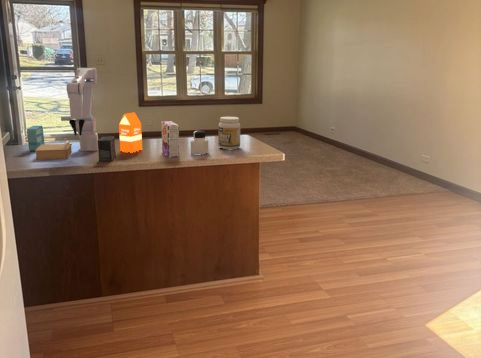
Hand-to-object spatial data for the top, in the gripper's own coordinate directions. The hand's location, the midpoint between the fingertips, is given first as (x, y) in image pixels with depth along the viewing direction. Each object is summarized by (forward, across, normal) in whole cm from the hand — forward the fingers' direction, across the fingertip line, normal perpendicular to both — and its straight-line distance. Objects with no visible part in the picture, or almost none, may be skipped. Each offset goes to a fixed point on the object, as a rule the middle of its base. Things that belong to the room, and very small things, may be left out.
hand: (78, 135), depth 224 cm
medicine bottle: (+10, +60, -3) cm, 61 cm away
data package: (+10, -24, +19) cm, 32 cm away
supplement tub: (+10, +78, +9) cm, 79 cm away
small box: (+11, +14, -9) cm, 20 cm away
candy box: (+11, +45, -3) cm, 46 cm away
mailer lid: (+6, -12, +1) cm, 14 cm away
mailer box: (+10, -12, +1) cm, 16 cm away
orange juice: (+10, +25, +9) cm, 29 cm away
